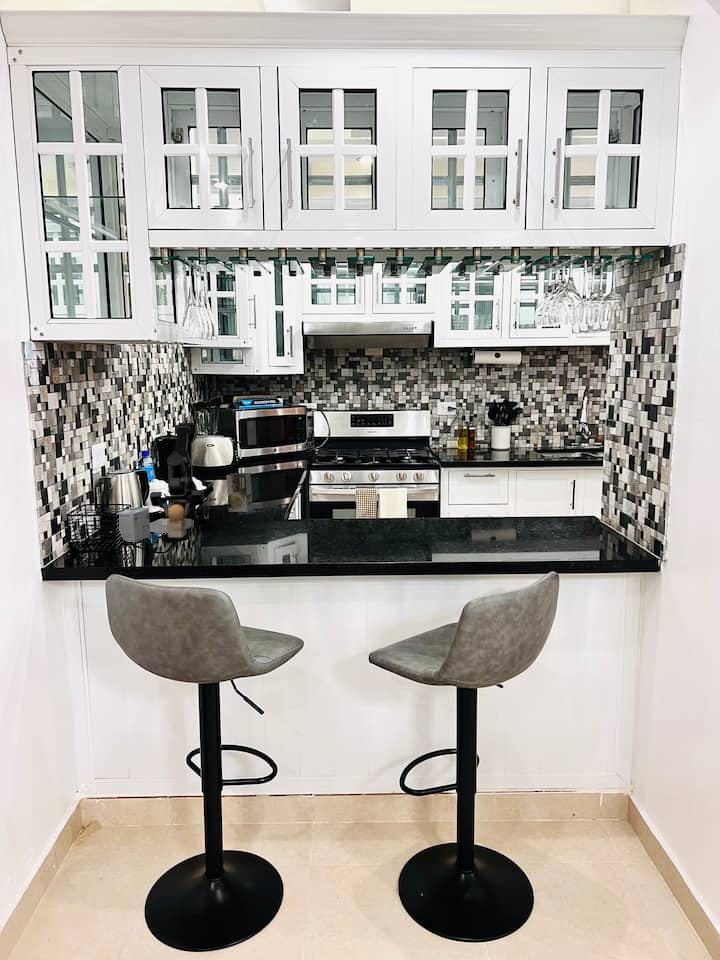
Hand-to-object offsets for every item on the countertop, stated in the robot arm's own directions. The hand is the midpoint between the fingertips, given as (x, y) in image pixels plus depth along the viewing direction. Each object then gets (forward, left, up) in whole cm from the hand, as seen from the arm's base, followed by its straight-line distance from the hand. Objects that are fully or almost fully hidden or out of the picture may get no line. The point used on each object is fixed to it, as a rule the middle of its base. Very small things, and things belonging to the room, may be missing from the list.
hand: (175, 517), depth 255 cm
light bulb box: (+6, -13, -7) cm, 16 cm away
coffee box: (-52, +8, -7) cm, 54 cm away
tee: (-1, 0, -7) cm, 7 cm away
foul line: (-5, -7, -7) cm, 11 cm away
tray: (-12, -7, -7) cm, 16 cm away
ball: (-1, 0, +1) cm, 2 cm away
